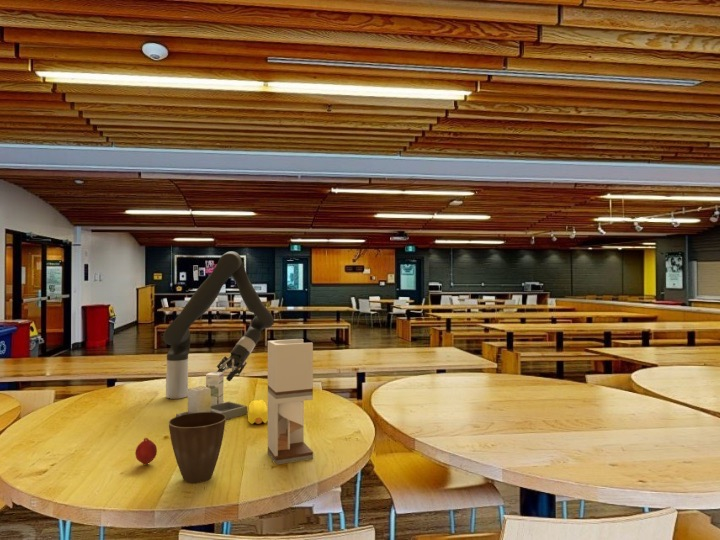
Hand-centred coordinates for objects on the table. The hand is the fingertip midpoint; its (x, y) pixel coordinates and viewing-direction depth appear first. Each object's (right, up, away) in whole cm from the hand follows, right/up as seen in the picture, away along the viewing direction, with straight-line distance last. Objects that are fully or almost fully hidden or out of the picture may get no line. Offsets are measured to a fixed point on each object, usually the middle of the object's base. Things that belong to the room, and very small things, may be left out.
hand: (221, 378), depth 207 cm
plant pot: (+15, -10, -75) cm, 77 cm away
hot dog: (+20, -11, -20) cm, 31 cm away
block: (-2, -11, -24) cm, 26 cm away
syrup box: (-2, -12, -3) cm, 12 cm away
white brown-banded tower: (+38, -11, -59) cm, 71 cm away
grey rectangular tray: (+2, -11, -19) cm, 22 cm away
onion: (-3, -11, -66) cm, 67 cm away
